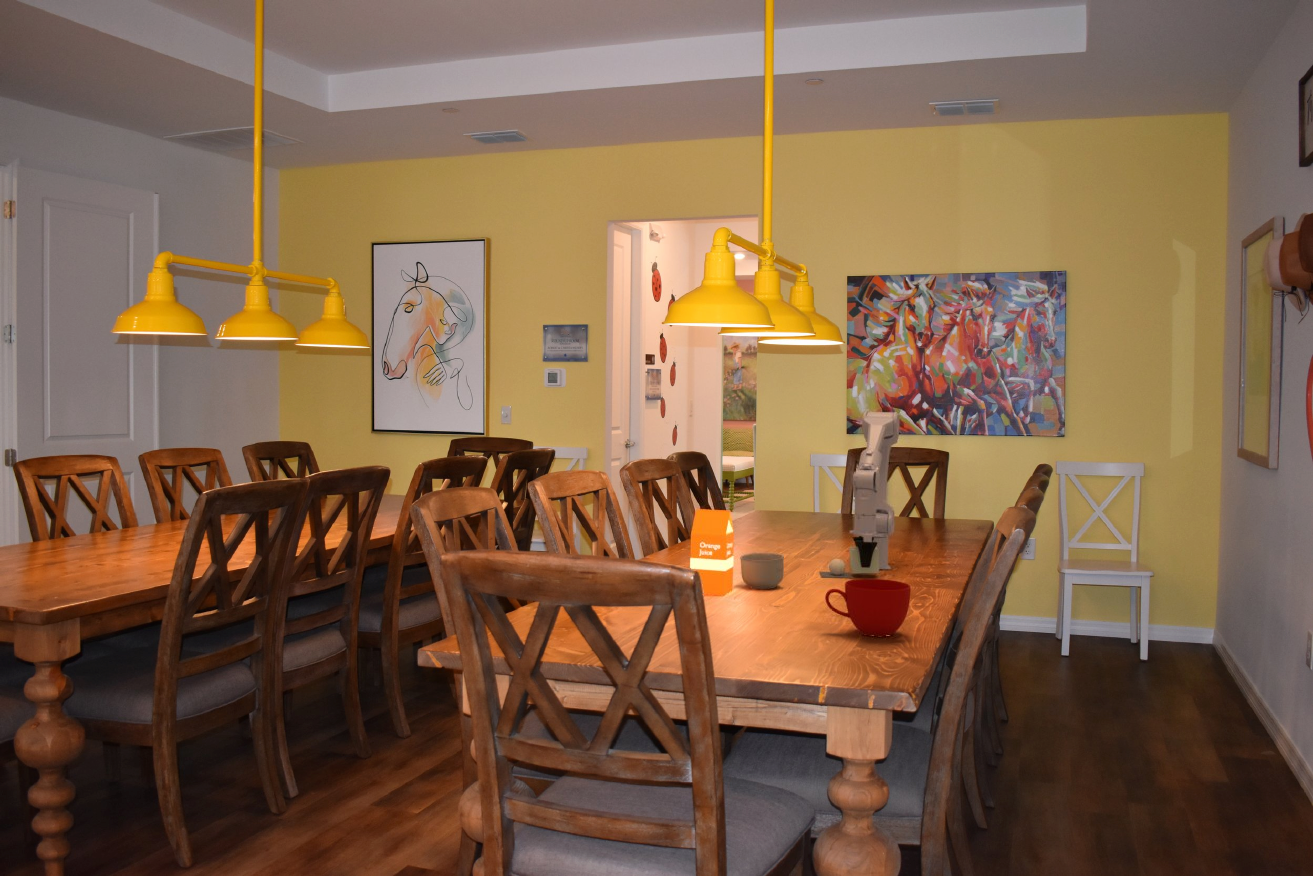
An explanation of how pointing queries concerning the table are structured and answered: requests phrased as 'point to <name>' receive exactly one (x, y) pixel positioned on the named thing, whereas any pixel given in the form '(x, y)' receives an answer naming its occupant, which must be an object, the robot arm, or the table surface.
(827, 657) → the table surface
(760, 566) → the teacup
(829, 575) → the thin dark grey panel
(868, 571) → the beige cuboid
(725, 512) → the orange juice
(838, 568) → the ball
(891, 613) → the ceramic cup
